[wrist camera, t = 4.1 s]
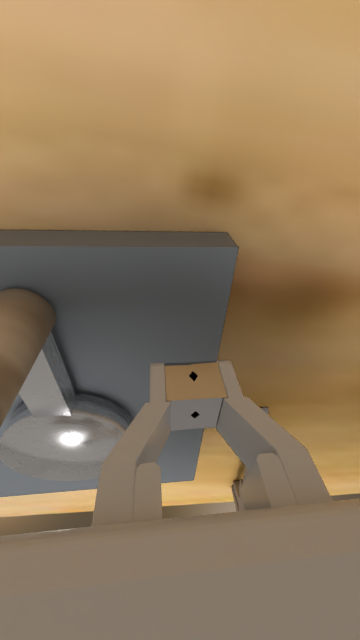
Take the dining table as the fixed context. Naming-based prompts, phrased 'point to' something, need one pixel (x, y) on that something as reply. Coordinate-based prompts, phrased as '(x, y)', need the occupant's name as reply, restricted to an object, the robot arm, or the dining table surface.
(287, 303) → the dining table surface
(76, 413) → the wooden knob lever
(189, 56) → the dining table surface
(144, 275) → the base plate
